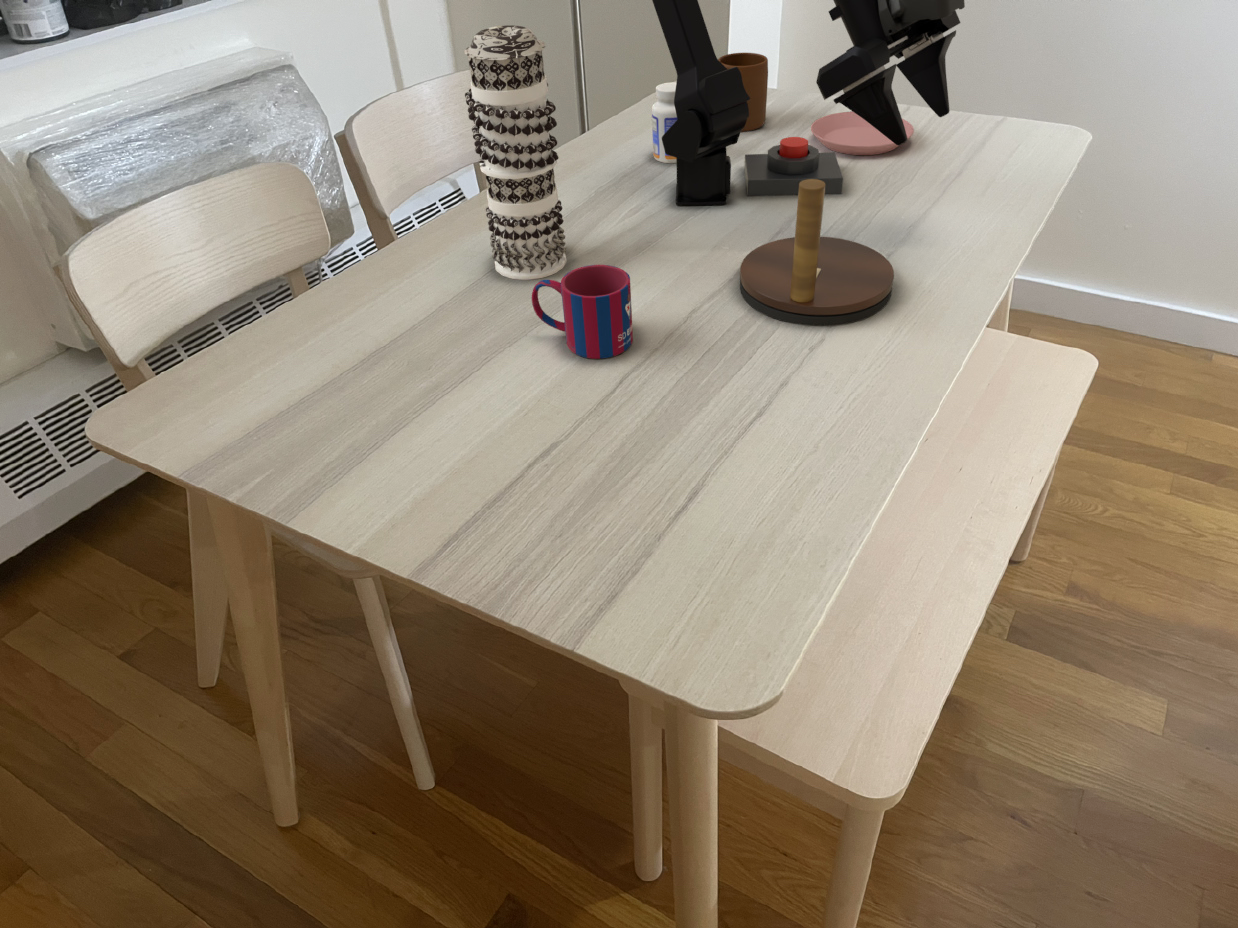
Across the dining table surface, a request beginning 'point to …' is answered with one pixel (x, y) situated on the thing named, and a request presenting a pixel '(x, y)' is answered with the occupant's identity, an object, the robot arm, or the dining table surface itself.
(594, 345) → the cup
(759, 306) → the turntable base
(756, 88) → the mug
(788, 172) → the control block
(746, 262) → the turntable
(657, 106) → the pill bottle
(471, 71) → the decorative candle
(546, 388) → the dining table surface
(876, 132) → the plate
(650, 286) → the dining table surface
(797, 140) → the button
